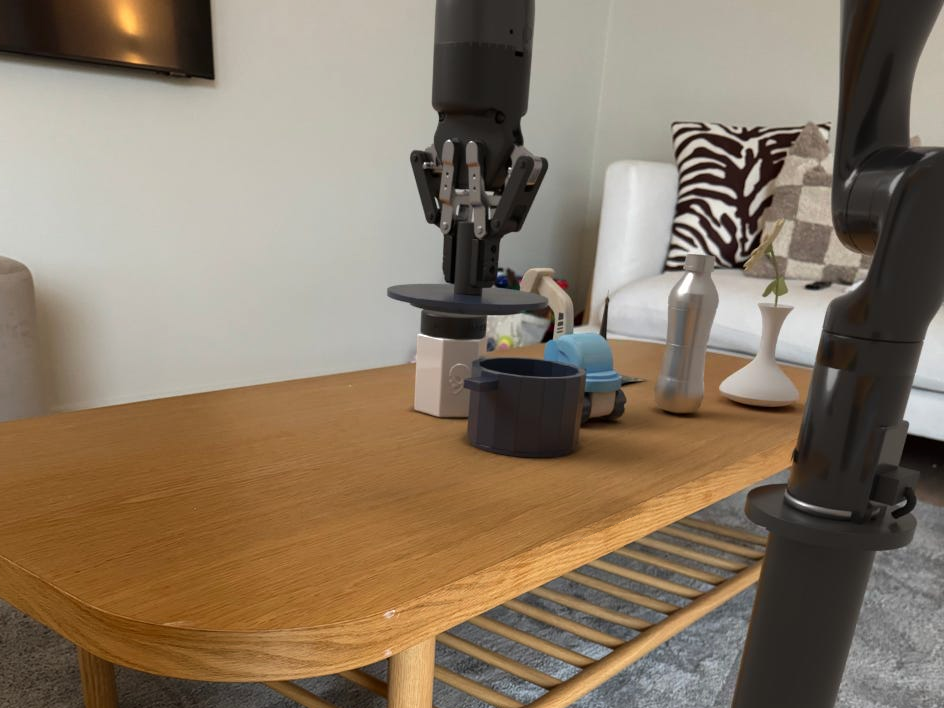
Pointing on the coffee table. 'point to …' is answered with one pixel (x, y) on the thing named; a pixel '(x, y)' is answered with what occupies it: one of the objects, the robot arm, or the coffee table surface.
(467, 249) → the lid
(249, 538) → the coffee table surface
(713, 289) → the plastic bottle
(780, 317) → the flower in vase
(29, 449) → the coffee table surface
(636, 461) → the coffee table surface
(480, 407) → the pot
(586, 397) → the toy excavator
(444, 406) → the jar
